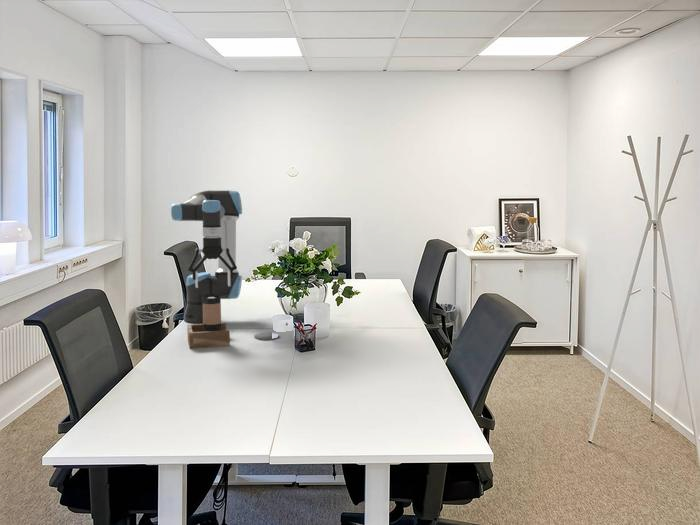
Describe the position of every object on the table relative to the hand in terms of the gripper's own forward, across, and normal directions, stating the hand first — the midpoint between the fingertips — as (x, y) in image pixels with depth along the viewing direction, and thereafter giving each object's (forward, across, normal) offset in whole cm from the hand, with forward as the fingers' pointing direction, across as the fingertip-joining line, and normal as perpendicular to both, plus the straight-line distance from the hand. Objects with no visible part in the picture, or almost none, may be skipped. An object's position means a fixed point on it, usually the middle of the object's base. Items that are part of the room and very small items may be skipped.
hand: (213, 286), depth 252 cm
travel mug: (+25, -1, 0) cm, 25 cm away
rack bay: (+24, -2, 0) cm, 24 cm away
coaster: (+24, +23, +2) cm, 34 cm away
